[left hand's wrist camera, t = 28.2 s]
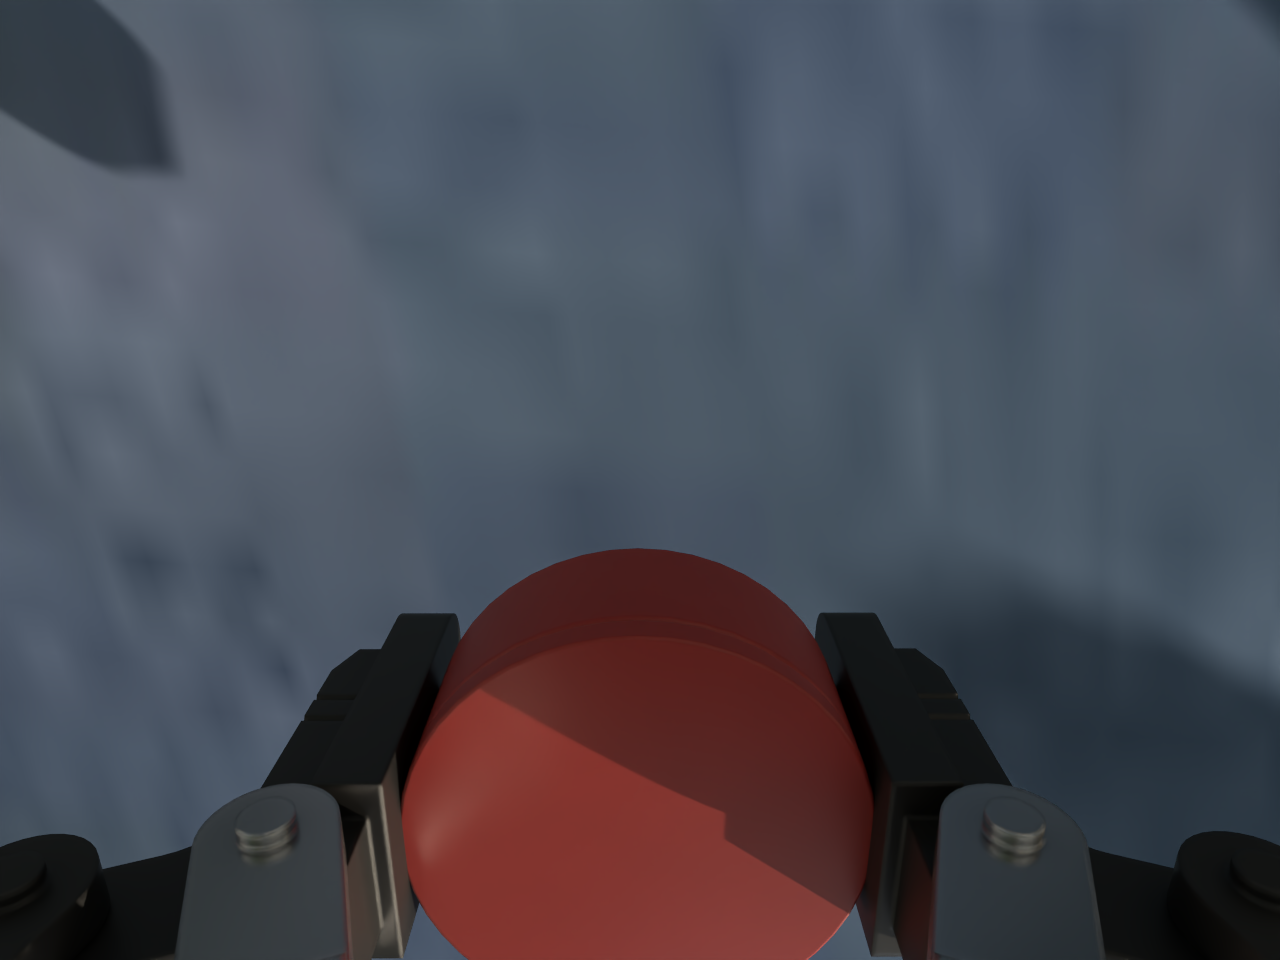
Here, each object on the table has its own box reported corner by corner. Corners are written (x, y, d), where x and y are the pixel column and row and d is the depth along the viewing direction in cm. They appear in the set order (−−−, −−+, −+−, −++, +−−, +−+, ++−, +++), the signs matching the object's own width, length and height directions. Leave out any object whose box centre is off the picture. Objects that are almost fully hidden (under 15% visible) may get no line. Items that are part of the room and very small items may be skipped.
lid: (910, 755, 11) (966, 879, 9) (605, 934, 12) (599, 1079, 10) (679, 464, 10) (688, 539, 8) (357, 694, 11) (296, 810, 9)
